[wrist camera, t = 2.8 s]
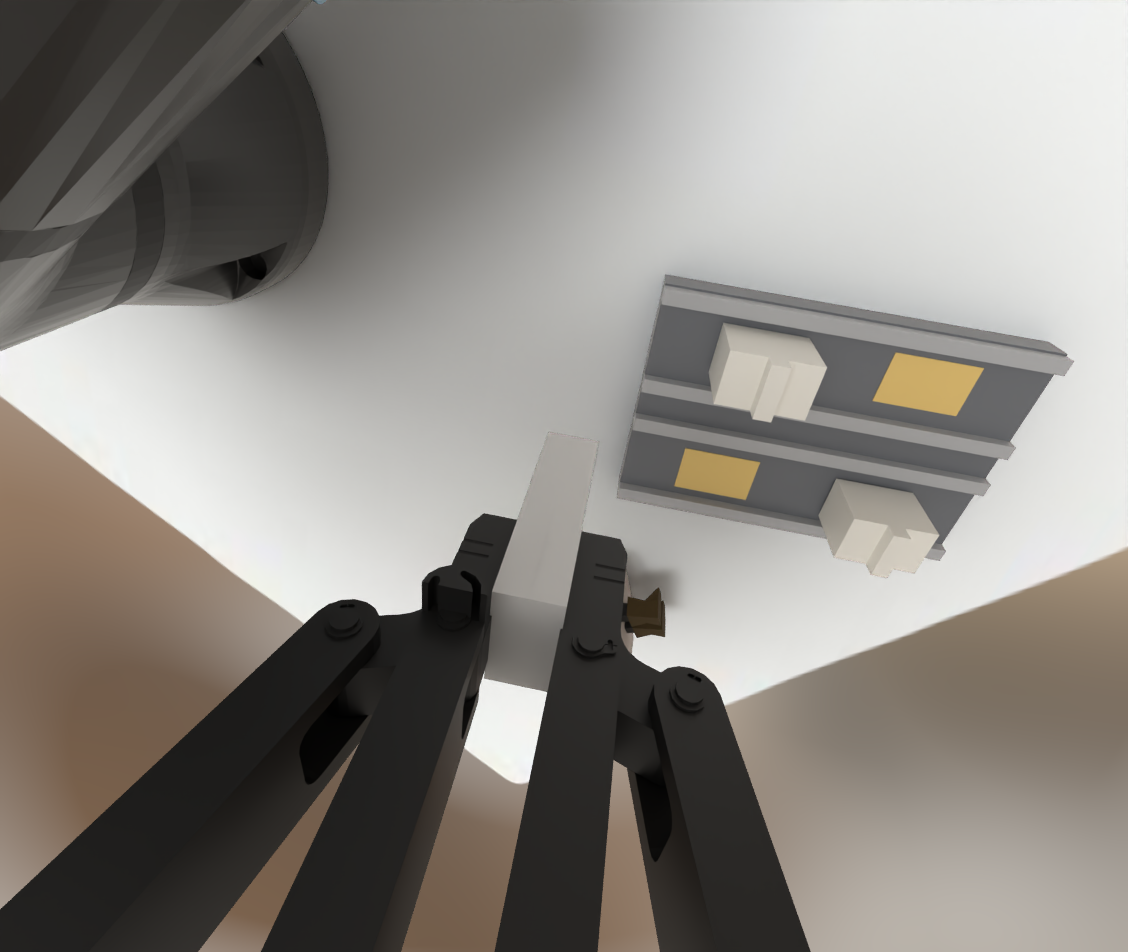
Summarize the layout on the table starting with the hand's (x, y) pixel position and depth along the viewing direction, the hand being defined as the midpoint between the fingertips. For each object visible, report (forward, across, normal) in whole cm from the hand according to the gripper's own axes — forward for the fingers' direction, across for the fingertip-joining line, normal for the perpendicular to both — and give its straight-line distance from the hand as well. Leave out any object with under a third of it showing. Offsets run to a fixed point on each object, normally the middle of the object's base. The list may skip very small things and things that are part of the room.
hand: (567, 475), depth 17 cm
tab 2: (+13, +15, -7) cm, 21 cm away
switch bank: (+15, +11, -3) cm, 19 cm away
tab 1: (+13, +7, 0) cm, 15 cm away
